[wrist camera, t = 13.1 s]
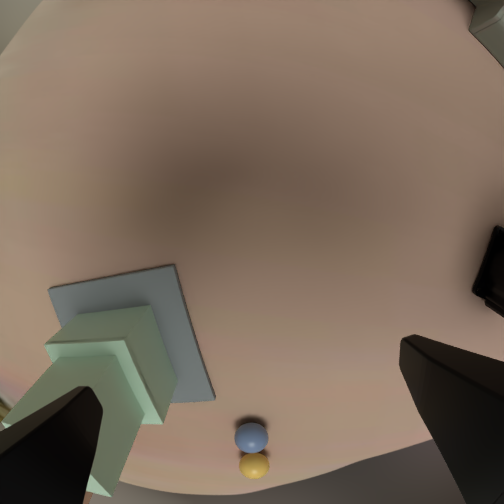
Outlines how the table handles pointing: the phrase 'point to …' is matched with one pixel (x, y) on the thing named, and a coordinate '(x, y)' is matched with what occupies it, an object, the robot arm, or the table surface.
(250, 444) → the blue ball
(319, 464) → the table surface
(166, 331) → the mat
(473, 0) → the digital clock
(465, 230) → the table surface
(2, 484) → the robot arm
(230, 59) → the table surface
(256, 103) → the table surface
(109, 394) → the stepped green tower
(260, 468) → the marble amber
